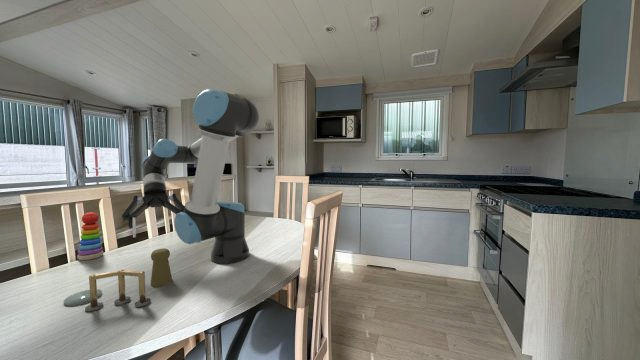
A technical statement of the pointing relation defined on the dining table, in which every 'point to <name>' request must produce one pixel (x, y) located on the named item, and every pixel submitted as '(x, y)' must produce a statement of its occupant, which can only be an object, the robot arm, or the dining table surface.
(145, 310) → the dining table surface
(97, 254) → the stacking toy
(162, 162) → the robot arm
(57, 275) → the dining table surface
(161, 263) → the cork
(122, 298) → the rail
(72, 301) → the coaster
